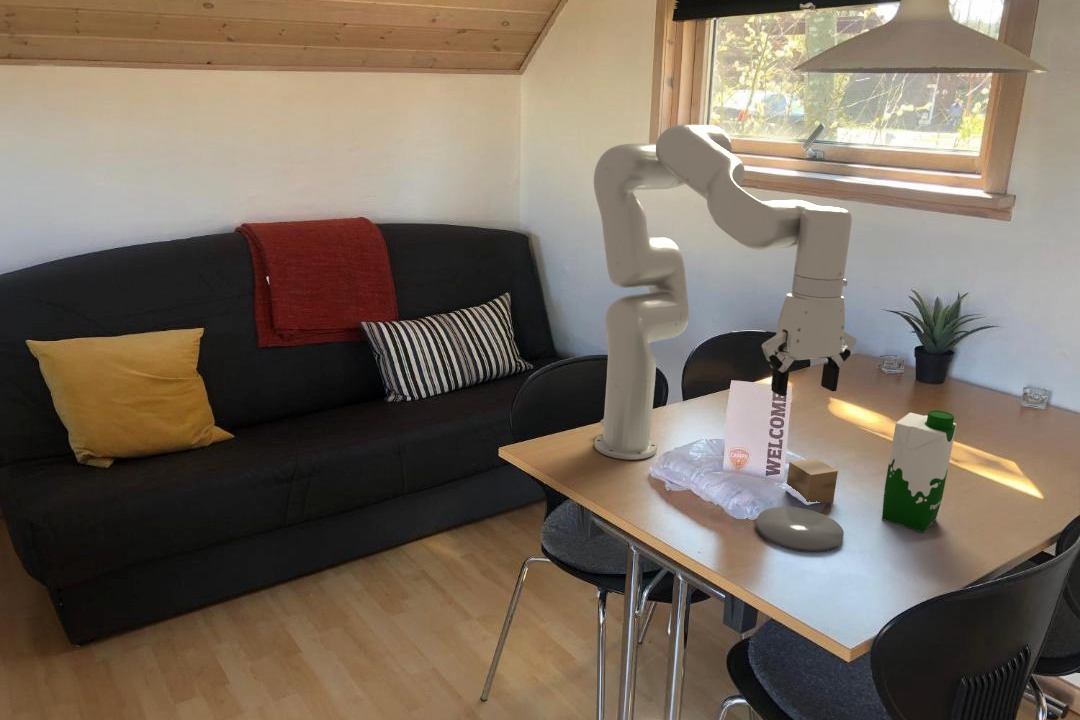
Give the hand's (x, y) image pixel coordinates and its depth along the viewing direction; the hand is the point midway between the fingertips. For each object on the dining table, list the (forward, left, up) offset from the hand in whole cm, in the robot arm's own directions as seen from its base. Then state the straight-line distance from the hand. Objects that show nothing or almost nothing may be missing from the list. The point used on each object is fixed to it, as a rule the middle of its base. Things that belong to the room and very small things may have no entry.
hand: (803, 391), depth 144 cm
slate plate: (+2, +1, -24) cm, 24 cm away
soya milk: (+4, +23, -24) cm, 34 cm away
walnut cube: (-9, +12, -24) cm, 28 cm away
